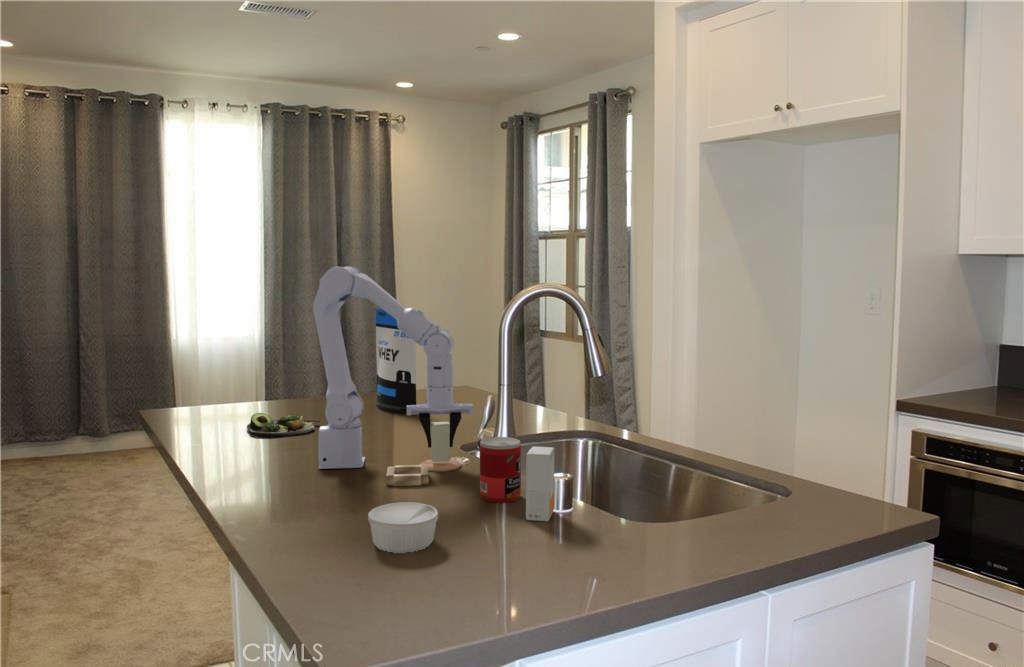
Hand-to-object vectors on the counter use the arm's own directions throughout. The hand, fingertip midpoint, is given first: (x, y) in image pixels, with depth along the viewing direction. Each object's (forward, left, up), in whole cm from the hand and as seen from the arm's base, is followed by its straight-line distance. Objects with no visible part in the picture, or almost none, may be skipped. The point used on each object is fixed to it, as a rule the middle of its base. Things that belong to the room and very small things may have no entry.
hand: (440, 446), depth 175 cm
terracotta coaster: (0, 0, -4) cm, 4 cm away
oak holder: (-7, -10, -4) cm, 13 cm away
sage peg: (0, 0, -3) cm, 3 cm away
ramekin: (-7, -47, -5) cm, 48 cm away
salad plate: (-42, +42, -5) cm, 60 cm away
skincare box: (+17, -36, -5) cm, 40 cm away
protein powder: (-12, +69, -5) cm, 70 cm away
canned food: (+11, -24, -5) cm, 27 cm away
